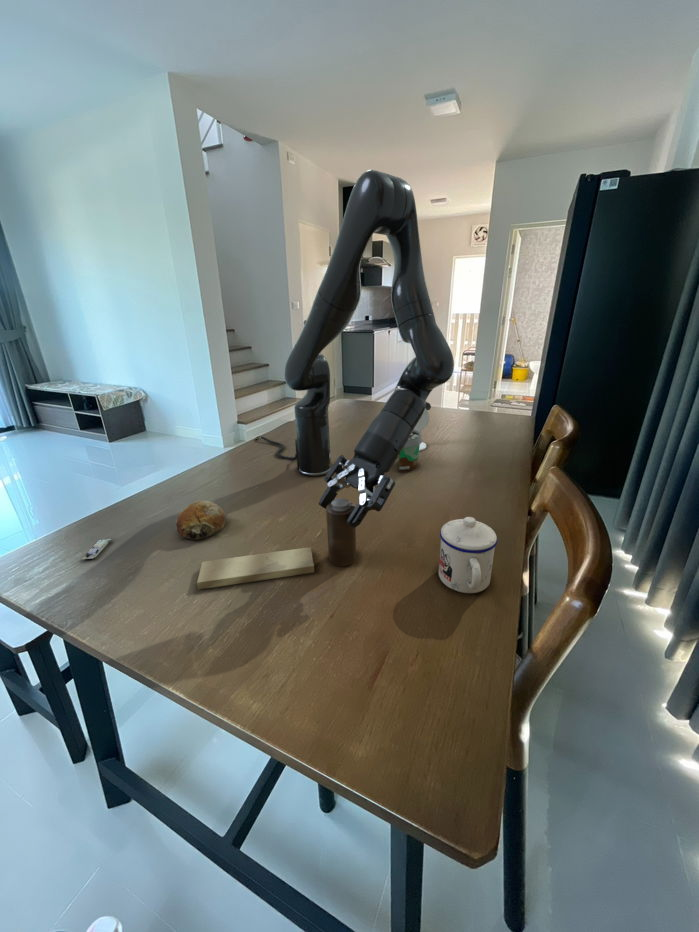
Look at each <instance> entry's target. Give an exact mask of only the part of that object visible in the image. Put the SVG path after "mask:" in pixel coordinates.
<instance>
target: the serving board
mask: <svg viewBox="0 0 699 932" xmlns="http://www.w3.org/2000/svg"><path fill="white" fill-rule="evenodd" d="M313 573H315V564H314V559H313V553H312V547H311V546H308V547H300V548H294V549H286V550H280V551H279V550H277V551H271V552H265V553H257V554H249V555H243V556H234V557H227V558H220V559H214V560H206V561H202V562H201V566H200V570H199V573H198V578H197V581H196V585H197V589H198V590H207V589H212V588H220V587H226V586H231V585H232V586H233V585H238V584H239V585H240V584H245V583H252V582H259V581H266V580H273V579H279V578H287V577H294V576H299V575H306V574H313Z"/></svg>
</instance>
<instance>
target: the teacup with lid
mask: <svg viewBox="0 0 699 932" xmlns="http://www.w3.org/2000/svg"><path fill="white" fill-rule="evenodd" d="M439 537H440V548H439V560H438V577H439V580H440V581H441V582H442V583H443V584H444V585H445V586H446V587H447V588H449V589H451V590H453V591H456V592H458V593H462V594H476V593H480V592H482V591H483V592H484V591H485V590H486V589H487V588H488V587H489V586H490V583H491V577H492V569H493V564H494V563H493V562H494V555H495V549H496V547H497V544H498V537H497V534H496V532H495V531H494V530H493V528H491V527H490V526H489V525H487V524H485V523H484V522H481V521H479V520H478V521H477V519H476V518H475V517H472V516H466V517H464V518H458V519H452V520H450V521H448V522H445V523H444V524H443V526H442V527H441V529H440V531H439Z"/></svg>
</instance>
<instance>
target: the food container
mask: <svg viewBox="0 0 699 932" xmlns="http://www.w3.org/2000/svg"><path fill="white" fill-rule="evenodd" d="M422 436H423V435H422V432H421V433H420V432H419V431H417V430H414V429H413V431H412V433H411V435H410V437H409V439H408V441H407V443H406V445H405V446H404V448H403V450H402V451H401V453H400V454H399V456H398V472H399V473H405V472H411V471H414V470H416V469H417V468H418V462H419V454H420V451H419V447H420V444H421V443H422V442H423V437H422Z"/></svg>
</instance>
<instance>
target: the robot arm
mask: <svg viewBox="0 0 699 932" xmlns="http://www.w3.org/2000/svg"><path fill="white" fill-rule="evenodd" d="M374 234H376V235H382V236H386V238H387V240H388V243H389V245H390V247H391V251H392V255H393V261H394V268H393V277H392V282H391V289H390V299H391V300H390V301H391V307H392V311H393V315H394V320H395V322H396V326H397V329H398V333H399V336H400V338H401V340H402V341H403V342H404V343H406V344H410V346H411V348H412V350H413V353H414V355H415V357H413V358H412V359H411V360H410V361H409V363H408V364H407V365H406V367H405V368H404V370H403V372H402V373H401V375H400V377H399V379H398V382H397V384H396V386H395V389H394V390H393V392H392V393H391V395H390V396H389V397H388V399H387V400H386V402H385V404H384V405H383V407H382V408H381V409H380V411H379V412H378V414H377V415H376V416H375V417H374V418H373V420H372V421H371V423H370V424H369V425H368V427H367V429H366V430H365V432H364V433H363V435H362V436H361V438H360V440H359V441H358V443H357V444H356V446H355V447H354V450H353V452H354V453H353V454H354V455H353V457H352V458H351V459H350V460H349V459H348V458H346V456H344V455H343V454H340V455H339V456H338V457H337V459H336V461H335V462H334V463H333V464H332V461H331V459H332V451H331V441H330V421H329V419H330V418H329V406H330V403H331V368H330V365H329V361H328V359H327V358H326V356H325V355H324V354H323V353H322V352H323V351H324V350H325V348H326V347H327V346H329V345H330V344H331V343H332V342H333V341H334V340H335V339H337V338H338V337H339V335H341V334H342V333H343V332H344V331H345V330H346V328H347V327H348V325H349V324H350V323H351V321H352V318H353V317H354V314H355V312H356V310H357V308H358V306H359V304H360V301H361V298H362V297H361V295H362V281H361V263H362V258H363V256H364V253H365V250H366V248H367V246H368V244H369V242H370V240H371V238H372V236H373V235H374ZM421 249H422V247H421V240H420V232H419V222H418V213H417V206H416V199H415V195H414V192H413V189H412V187H411V185H410V184H409V183H408V182H407V180H404V179H403V178H401V177H398V176H395V175H392V174H389V173H386V172H383V171H379V170H376V169H369V170H366V171H364V172H363V173H362V174H360V176H359V177H358V178H357V180H356V182H355V184H354V186H353V188H352V190H351V192H350V196H349V198H348V201H347V203H346V207H345V211H344V215H343V218H342V221H341V225H340V229H339V232H338V235H337V239H336V242H335V245H334V248H333V251H332V254H331V257H330V260H329V262H328V265H327V268H326V270H325V273H324V275H323V277H322V280H321V282H320V285H319V287H318V290H317V292H316V295H315V297H314V300H313V303H312V306H311V308H310V311H309V314H308V316H307V318H306V320H305V323H304V325H303V327H302V330H301V332H300V334H299V337H298V339H297V340H296V343H295V344H294V346H293V348H292V349H291V351H290V353H289V355H288V357H287V359H286V362H285V366H284V376H283V377H284V381H285V383H286V385H287V387H288V388H289V389H291V390H293V391H296V392H303V391H306V393H305V395H304V396H303V397H302V398H301V399H299V400H298V401H297V402H296V403H295V404H294V407H293V408H294V417H295V418H294V419H295V429H296V439H294V445H295V454H294V456H285V455H282V454H279V453H280V452H281V451H283V450H284V449H285V445H284V444H283V443H281V442H278V441H274V440H271V439H268V438H266V437H265V436H262V437H261V438H258V437H260V436H261V435H259V436H255V439H254V440H255V441H257V440H259V439H262V440H264V441H266V442H268V443H271V444H273V445H277V446H280V448H279V449H277V451H276V452H275V455H276V456H277V457H278V458H281V459H283V460H296V466H297V467H296V469H297V470H298V471H299V473H300V474H301V475H303V476H305V477H321V476H324V478H323V480H324V481H325V482H326V485H327V487H326V488H325V490H324V492H323V494H322V495H321V497H320V498H319V501H318V505H319V506H320V507H321V508H323V509H325V510H326V507H327V505H328V504H330V503H331V502H332V501H333V500H335V499H336V498H337V496H338V494H339V492H341V491H342V490H343V489H349V488H351V487H352V488H353V489H357V491H358V493H359V504H358V503H357V504H356V505H355V508H354V510H353V512H352V513H351V515H350V516H349V518H348V520H347V524H349V525H351V526H352V527H354V528H356V529H357V527H359V526H360V524H362V522H363V520H364V519H365V517H366V516H367V514H368V512H369V511H376V512H380V511H381V510H382V509H383V507H384V505H385V504H386V502H387V500H388V498H389V496H390V495H391V493H392V491H393V489H394V487H395V485H396V482H395V481H394V479H393V478H391V477H390V476H389V475H388V474H386V473H389V472H390V471H391V469H392V467H393V466H394V464H395V462H396V461H397V459H398V458H399V454H400V453H401V451H402V450H403V448H404V446H405V445H406V443H407V441H408V439H409V437H410V435H411V433H412V431H413V429H414V428H415V426H416V425H417V423H418V421H419V420H420V418H421V417H422V415H423V413H424V410H425V401H426V402H427V399H428V397H429V396H430V394H431V392H432V391H433V390H434V389H435V388H437V387H439V386H442V385H444V384H446V383H447V382H448V381H449V380H450V379H451V378H452V376H453V374H454V370H455V360H454V355H453V351H452V349H451V347H450V345H449V343H448V341H447V340H446V338H445V336H444V333H443V332H442V331H441V329H440V327H439V326H438V324H437V320H436V316H435V312H434V309H433V305H432V301H431V298H430V295H429V290H428V287H427V282H426V277H425V273H424V266H423V258H422V257H423V256H422V250H421ZM256 438H258V439H256ZM332 477H333V478H332Z"/></svg>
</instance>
